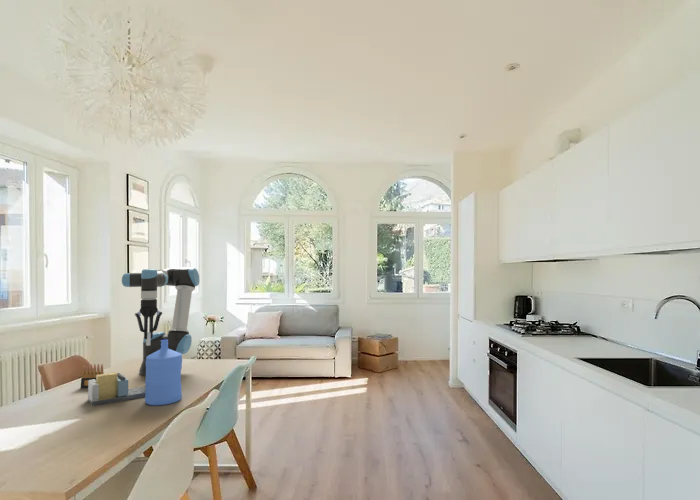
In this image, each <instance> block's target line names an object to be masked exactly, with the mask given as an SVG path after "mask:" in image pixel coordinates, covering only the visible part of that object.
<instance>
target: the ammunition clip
mask: <svg viewBox="0 0 700 500" xmlns="http://www.w3.org/2000/svg"><path fill="white" fill-rule="evenodd" d="M81 370H82V371H81V378H80V379H81V380H80V389H88V380H92V379H95V380H96V375H100V374H105V371H104V365H103V363H101V364H99V363H98V364H97V366H96V364H90V366H89V364H88V363H87V364H86V365H85V364H83V365H82V369H81Z"/></svg>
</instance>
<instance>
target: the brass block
mask: <svg viewBox="0 0 700 500" xmlns="http://www.w3.org/2000/svg"><path fill="white" fill-rule="evenodd" d="M117 373H118V372H109V373H104V374H100V375H96V381H97V383H98V384H99V398H104V397H110V396H116V395H117Z"/></svg>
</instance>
